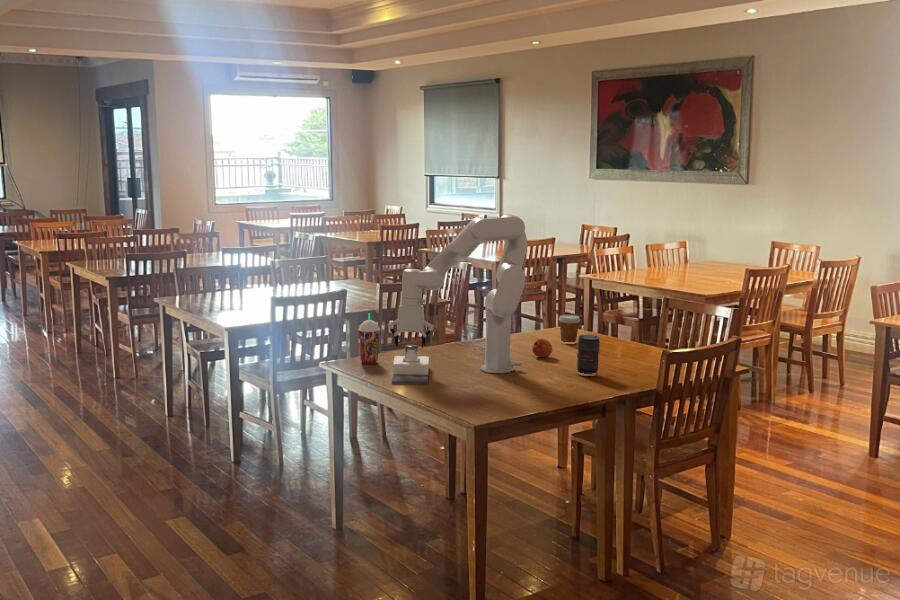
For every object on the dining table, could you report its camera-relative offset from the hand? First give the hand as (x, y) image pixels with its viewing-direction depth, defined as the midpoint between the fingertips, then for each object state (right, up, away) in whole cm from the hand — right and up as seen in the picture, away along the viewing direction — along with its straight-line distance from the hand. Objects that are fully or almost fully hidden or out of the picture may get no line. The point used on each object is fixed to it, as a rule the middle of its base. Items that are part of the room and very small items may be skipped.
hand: (409, 346), depth 331 cm
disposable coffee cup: (+68, -2, +57) cm, 89 cm away
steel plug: (0, -10, +2) cm, 10 cm away
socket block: (0, -10, +2) cm, 10 cm away
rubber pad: (+1, -12, -11) cm, 16 cm away
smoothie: (-17, -7, +14) cm, 23 cm away
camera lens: (+67, -11, +2) cm, 68 cm away
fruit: (+53, -6, +29) cm, 61 cm away
